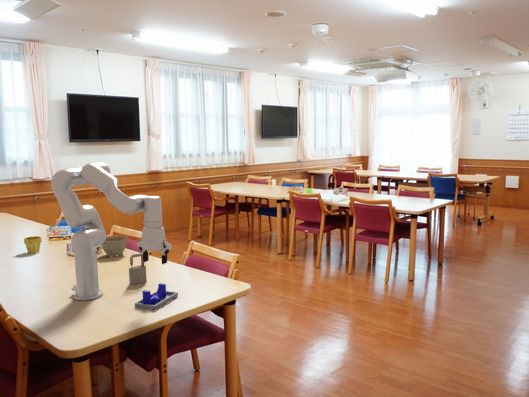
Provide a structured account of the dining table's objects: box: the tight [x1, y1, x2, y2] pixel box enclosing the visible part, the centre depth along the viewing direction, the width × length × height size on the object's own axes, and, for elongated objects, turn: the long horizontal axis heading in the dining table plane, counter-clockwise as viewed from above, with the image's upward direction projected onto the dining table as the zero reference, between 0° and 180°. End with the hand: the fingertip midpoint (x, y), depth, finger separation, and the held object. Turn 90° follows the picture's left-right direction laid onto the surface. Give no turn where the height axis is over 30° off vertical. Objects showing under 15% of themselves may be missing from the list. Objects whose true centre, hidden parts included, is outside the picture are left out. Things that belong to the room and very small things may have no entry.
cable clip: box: [142, 282, 167, 305], centre depth 200 cm, size 12×4×6 cm, turn 153°
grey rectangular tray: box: [134, 290, 179, 312], centre depth 200 cm, size 10×18×2 cm, turn 159°
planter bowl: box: [100, 235, 128, 257], centre depth 283 cm, size 16×16×11 cm
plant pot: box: [23, 235, 43, 254], centre depth 293 cm, size 10×10×10 cm
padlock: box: [128, 252, 148, 286], centre depth 227 cm, size 4×8×15 cm, turn 132°
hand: (155, 262), depth 198 cm, fingers open, 9 cm apart
